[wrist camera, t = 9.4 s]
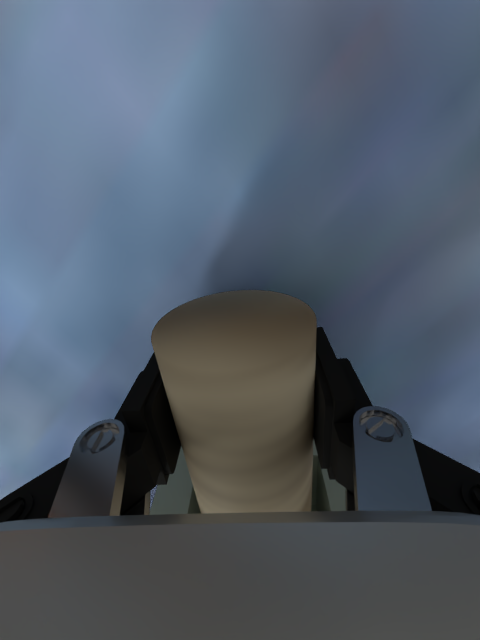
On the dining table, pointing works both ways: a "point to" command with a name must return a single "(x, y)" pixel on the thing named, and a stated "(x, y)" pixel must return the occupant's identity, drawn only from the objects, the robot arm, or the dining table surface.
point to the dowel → (242, 397)
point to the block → (183, 501)
